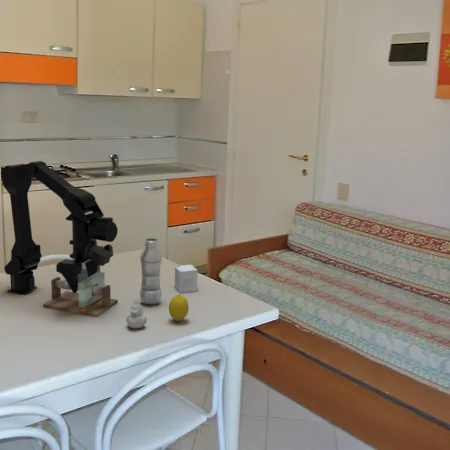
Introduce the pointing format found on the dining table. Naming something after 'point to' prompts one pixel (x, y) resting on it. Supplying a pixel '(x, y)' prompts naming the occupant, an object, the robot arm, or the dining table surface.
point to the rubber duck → (136, 316)
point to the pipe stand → (71, 300)
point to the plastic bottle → (150, 273)
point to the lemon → (178, 307)
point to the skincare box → (186, 278)
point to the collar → (90, 289)
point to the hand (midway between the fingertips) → (83, 287)
